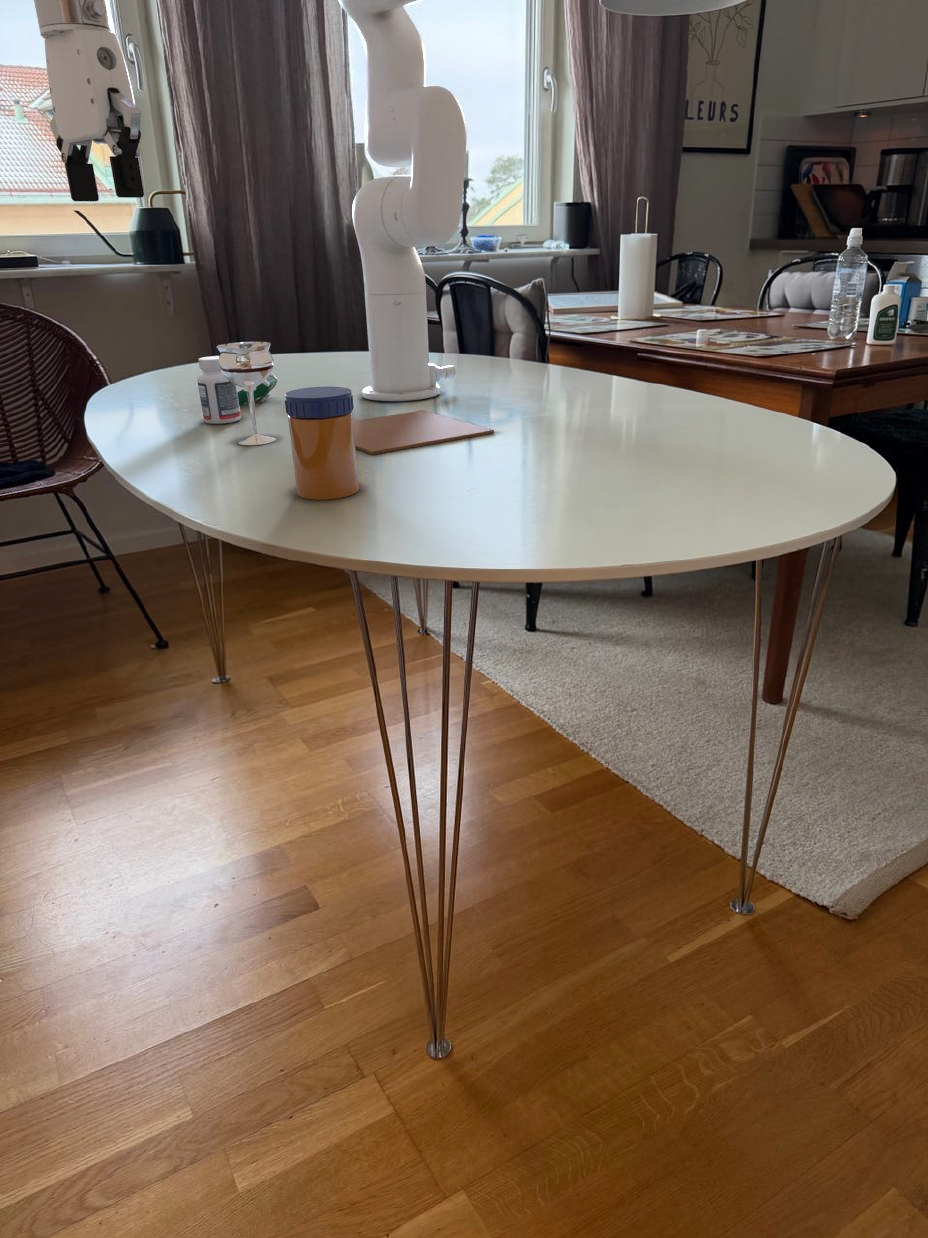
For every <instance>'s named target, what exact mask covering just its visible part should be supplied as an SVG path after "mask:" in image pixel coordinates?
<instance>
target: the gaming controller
mask: <svg viewBox="0 0 928 1238" xmlns="http://www.w3.org/2000/svg"><path fill="white" fill-rule="evenodd" d="M277 383H278V378H277V377H276V375H275V374H273V372H272V373H271V374H270V375H269V377H268V378H267V379H266V381H264V382H263V383H261V384H260V385H258V386H256V390H255V391H253V395H254V402H261V403H264V402H265V400H268V398H269V397H270V396H271V394H270V392H271V391H272V390H273V389H274V388H275V387H276V386H277ZM237 394H238V401H239V407H241V406H244V405H247V404H248V405H249V401H248V396H247V391H244V390H243V389H241V390H239V391H237Z"/></svg>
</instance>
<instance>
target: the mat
mask: <svg viewBox="0 0 928 1238" xmlns="http://www.w3.org/2000/svg"><path fill="white" fill-rule="evenodd" d="M353 424H354V436H355V448H356V450H359V451H361V452H363V453H367V454H369V455H379V454H384V453H389V452H390V453H391V452H396V451H402V450H406V449H412V448H417V447H424V446H430V445H434V444H440V443H447V442H451V441H457V440H463V439H467V438H474V437H480V436H485V435H490V434H491V435H492V434H494V433H495V429H492V428H489V427H484V426H481V425H477V424H474V423H469V422H467V421H463V420H459V419H455V418H453V417H448V416H445V415H441V414H437V413H434V412H430V411H427V410H423V409H422V410H415V411H409V412H402V413H396V414H390V415H384V416H377V417H372V418H370V417H369V418H363V419H358V420H357V419H356V420H353Z"/></svg>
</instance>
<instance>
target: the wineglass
mask: <svg viewBox="0 0 928 1238" xmlns="http://www.w3.org/2000/svg"><path fill="white" fill-rule="evenodd" d="M271 344H272V343H271V342H268V341H240V342H239V341H238V342H229V343H223V344H218V345H217V346H216V349H217V350H218V351H219V353H220V354H219V355H218V356H219V362H218V363H219V367H220V370H221V372H222V374H223V376H224V377H226V378H227V379H228V380H229V381H230V382H231V383H233V384H235V385H236V387H239V388H242V390H244V391H247V396H248V401H249V403H248V406H249V414H250V418H251V423H252V424H251V425H252V430H253V434H251V435H249V436H245V437H244V438H241V439H239V440H237V441H236V443H237V444H238V445H243V446H259V445H266V444H270V443H273V442H275V441H277V440H276V437H273V436H270V435H264V434H260V433H258V430H257V417H256V408H255V401H254V395H253V391H255V390H256V386H258V385H260V384H261V383H263V382H264V381H266V379H267V378H268V377H269V375H270V374H271V373H272V374H273V369H274V358H273V355H272V354H271V352H270V347H271Z"/></svg>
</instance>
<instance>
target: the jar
mask: <svg viewBox="0 0 928 1238" xmlns="http://www.w3.org/2000/svg"><path fill="white" fill-rule="evenodd" d="M353 414H354V412H353V410H352V411H351V412H349V413H347V414H343V415H339V416H333V417H323V418H299V417H292V416H289V415H288V414H287V419H288V428H289V436H290V445H291V446H290V447H291V455H292V462H293V463H292V464H293V471H294V481H295V488H296V489H295V490H296V495H297V496H299V497H300V498H303V499H306V500H313V501H314V500H315V501H328V500H337V499H343V498H347V497H349V496H352V495H354V494H356V493H358V491H359V490H360V485H359V484H360V483H359V472H358V462H357V451H356V450H357V449H356V448H355V436H354V424H353V421H354V415H353Z"/></svg>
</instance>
